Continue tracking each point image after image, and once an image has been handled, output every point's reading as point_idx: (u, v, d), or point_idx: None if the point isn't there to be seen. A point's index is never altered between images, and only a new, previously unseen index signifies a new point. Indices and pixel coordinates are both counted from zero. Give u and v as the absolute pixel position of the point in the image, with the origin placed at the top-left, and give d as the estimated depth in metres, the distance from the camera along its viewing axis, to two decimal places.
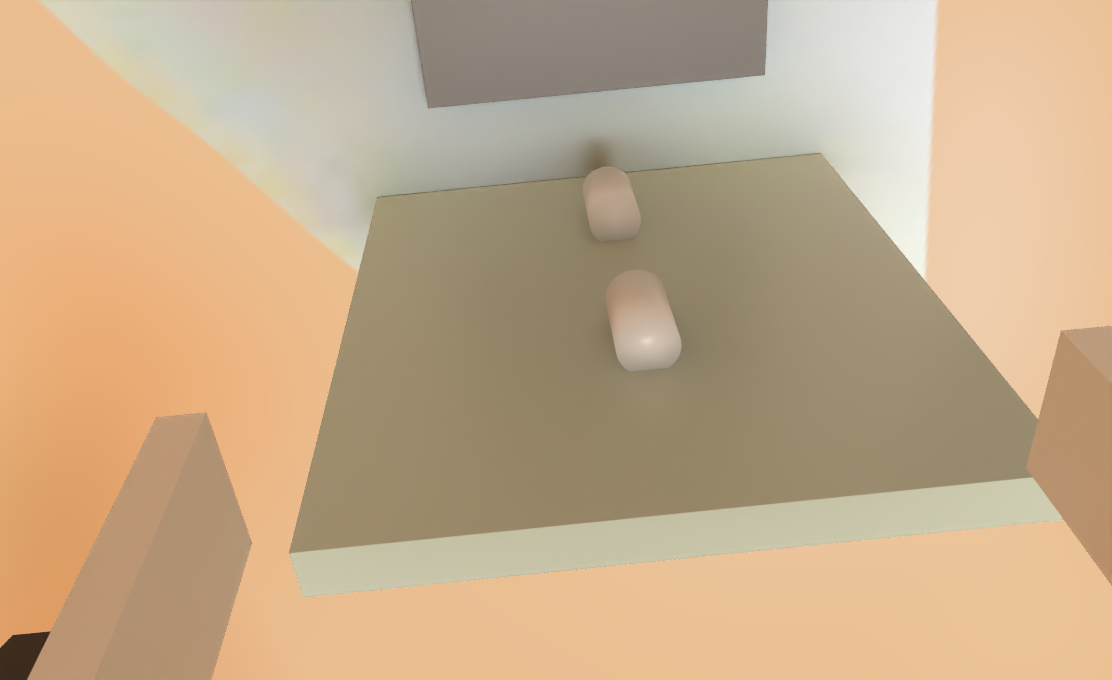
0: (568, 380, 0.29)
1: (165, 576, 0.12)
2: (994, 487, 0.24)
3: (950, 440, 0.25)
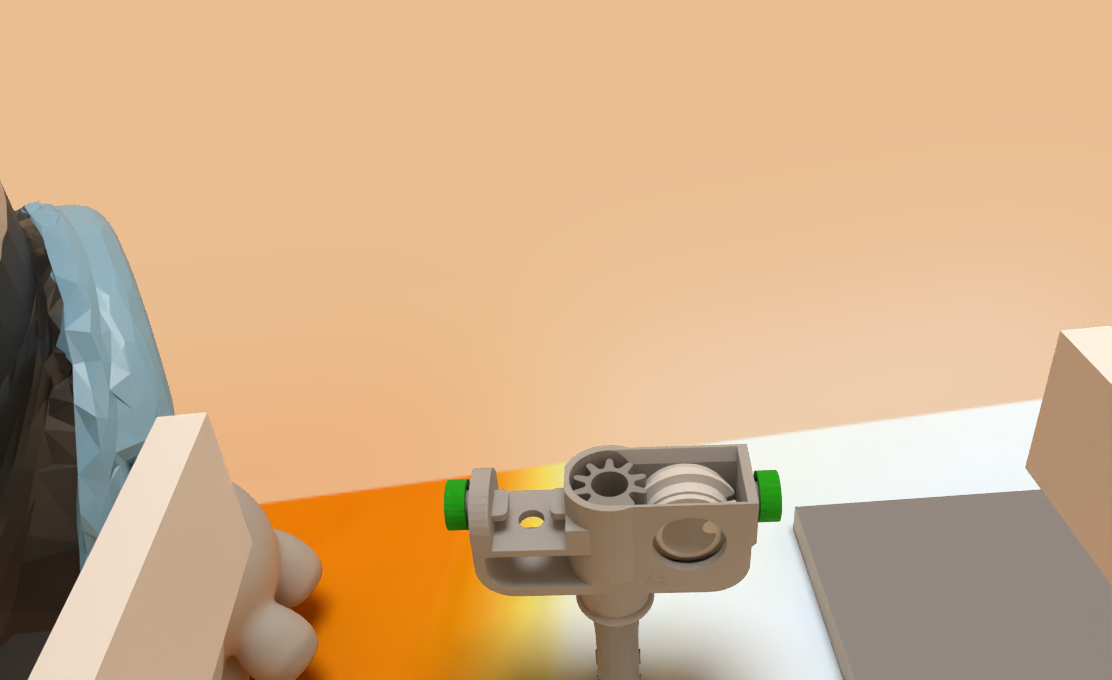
0: None
1: (166, 576, 0.12)
2: None
3: None
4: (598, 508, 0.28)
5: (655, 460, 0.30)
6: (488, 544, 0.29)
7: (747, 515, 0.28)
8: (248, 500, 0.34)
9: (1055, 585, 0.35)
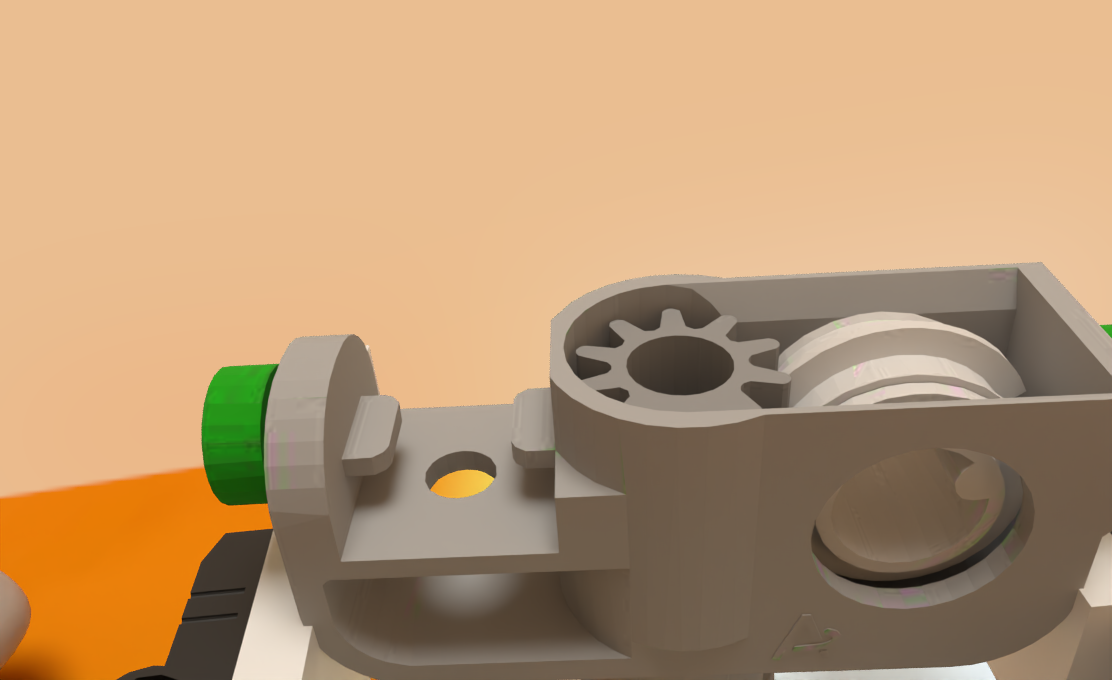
0: None
1: None
2: None
3: None
4: (659, 420, 0.09)
5: (795, 311, 0.11)
6: (328, 541, 0.10)
7: None
8: None
9: None
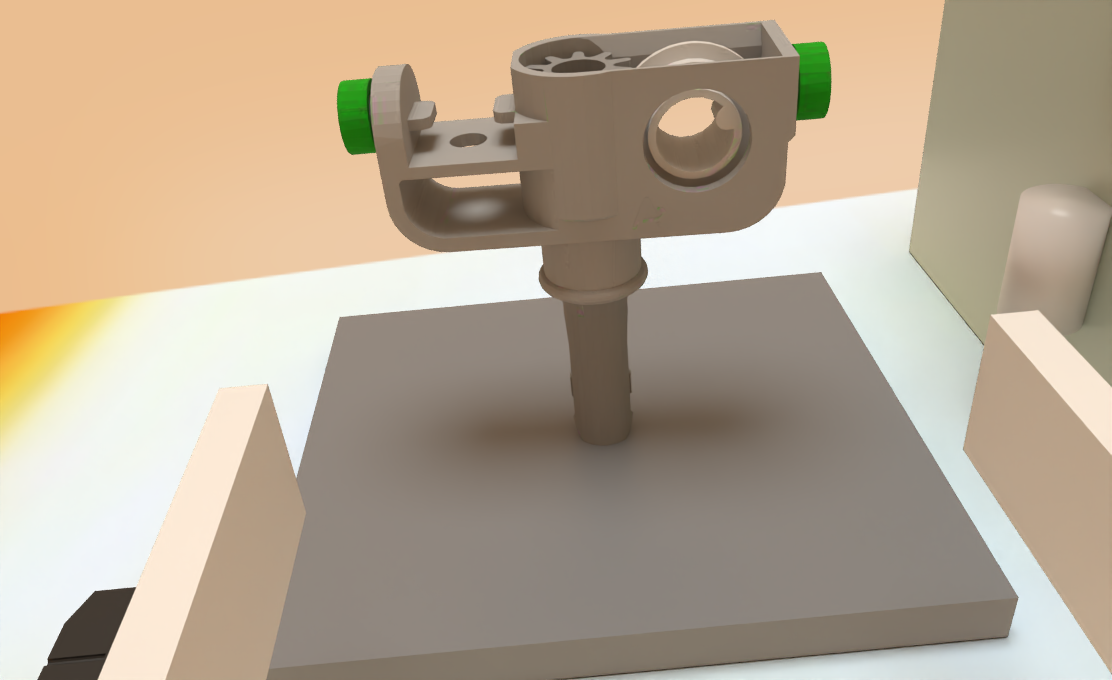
0: None
1: (237, 536, 0.13)
2: None
3: None
4: (560, 75, 0.19)
5: (644, 50, 0.21)
6: (402, 154, 0.20)
7: (782, 81, 0.19)
8: None
9: None
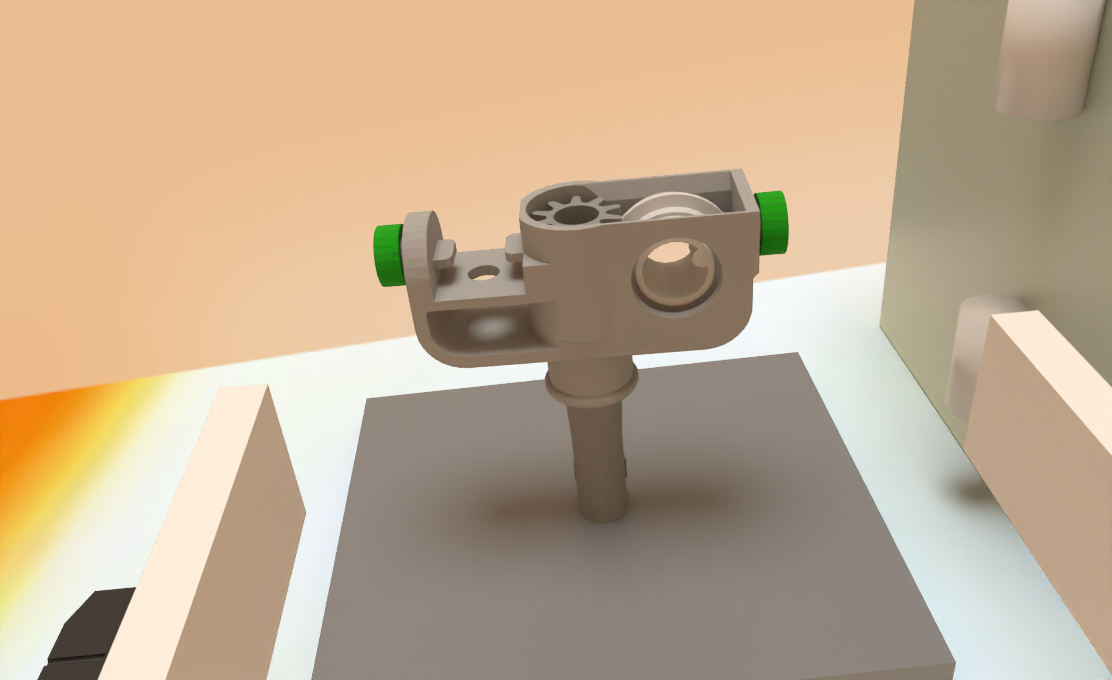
0: None
1: (237, 536, 0.13)
2: None
3: None
4: (561, 228, 0.22)
5: (632, 195, 0.24)
6: (429, 291, 0.23)
7: (746, 230, 0.22)
8: None
9: None
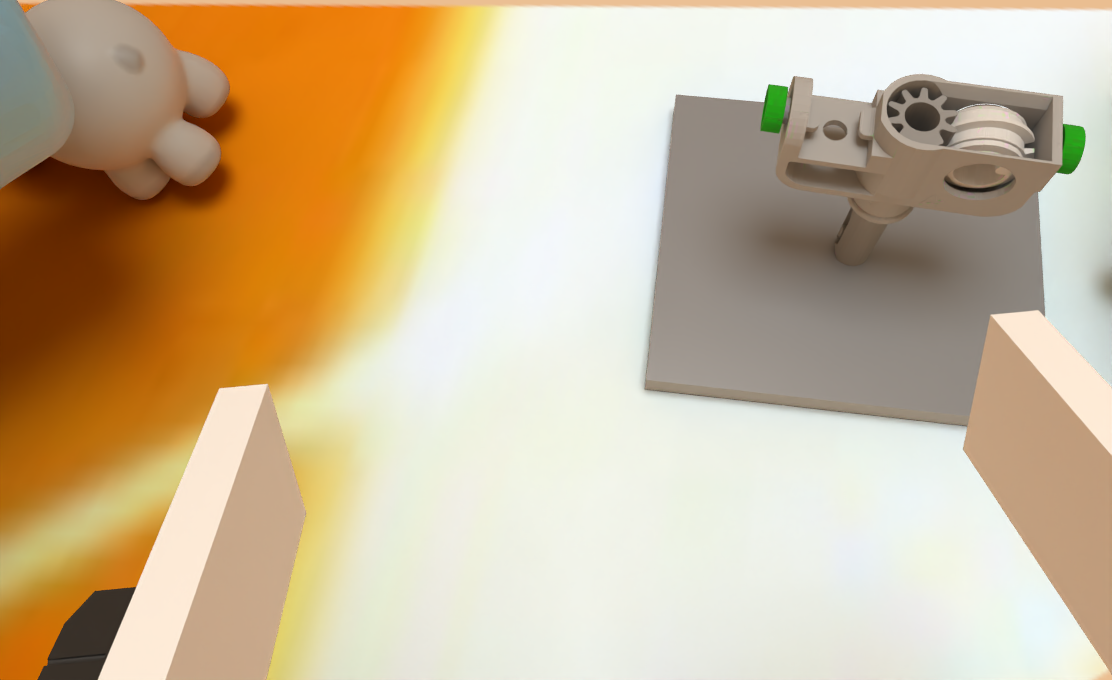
0: None
1: (237, 536, 0.13)
2: None
3: None
4: (911, 144, 0.31)
5: (968, 97, 0.32)
6: (797, 152, 0.32)
7: (1045, 171, 0.30)
8: (147, 34, 0.39)
9: None
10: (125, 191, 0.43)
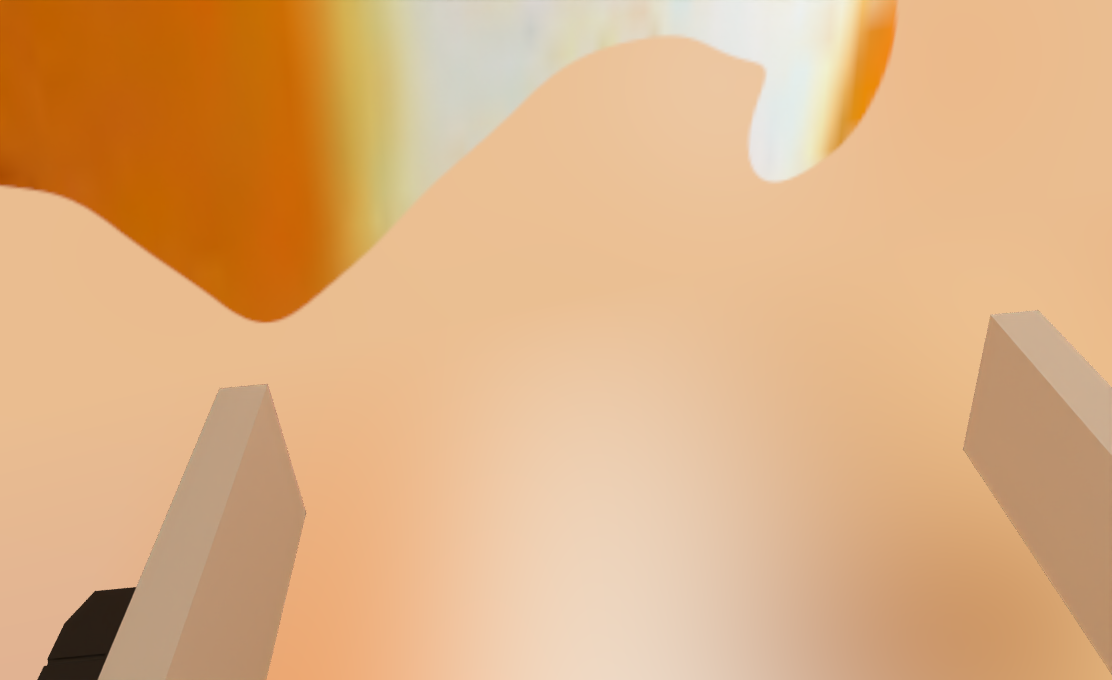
0: None
1: (237, 536, 0.13)
2: None
3: None
4: None
5: None
6: None
7: None
8: None
9: None
10: None
